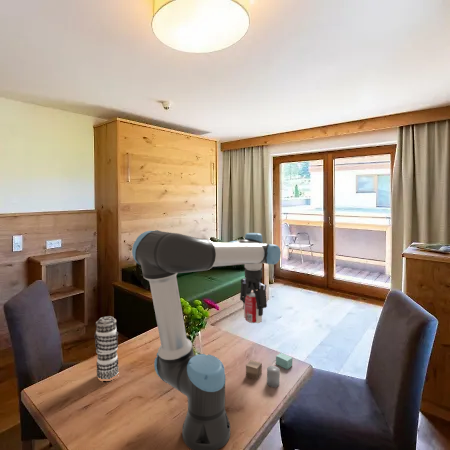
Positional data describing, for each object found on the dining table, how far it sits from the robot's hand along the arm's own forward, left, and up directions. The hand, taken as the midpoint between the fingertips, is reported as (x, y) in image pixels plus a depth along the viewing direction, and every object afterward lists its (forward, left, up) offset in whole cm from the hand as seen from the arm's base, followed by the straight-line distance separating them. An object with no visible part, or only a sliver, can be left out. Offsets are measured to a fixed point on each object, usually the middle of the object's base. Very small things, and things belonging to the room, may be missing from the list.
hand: (252, 319), depth 133 cm
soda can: (0, 0, -1) cm, 1 cm away
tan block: (-5, -6, -21) cm, 23 cm away
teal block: (+11, -9, -21) cm, 26 cm away
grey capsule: (-3, -15, -21) cm, 26 cm away
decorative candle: (-53, +32, -21) cm, 65 cm away
